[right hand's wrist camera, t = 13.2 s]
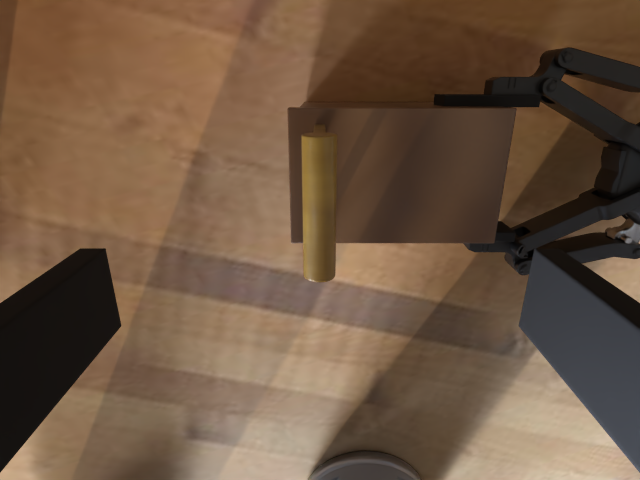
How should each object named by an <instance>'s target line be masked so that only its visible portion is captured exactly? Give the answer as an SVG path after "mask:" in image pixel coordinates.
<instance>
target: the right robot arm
mask: <svg viewBox="0 0 640 480" xmlns="http://www.w3.org/2000/svg"><path fill="white" fill-rule="evenodd" d="M120 327H121V322H120V317H119V312H118V308H117V303H116V298H115V293H114V288H113V283H112V278H111V273H110V268H109V263H108V259H107V254H106V249H79V250H78V251H76V252H75V253H73V254H72V255H70V256H69V257H67V258H66V259H64V260H63V261H62V262H60V263H59V264H57V265H56V266H54V267H53V268H51V269H50V270H48V271H47V272H45V273H44V274H42V275H41V276H39V277H38V278H37V279H35V280H34V281H32V282H31V283H29V284H28V285H26V286H25V287H23V288H22V289H20V290H19V291H17V292H16V293H15V294H13V295H12V296H10V297H9V298H7V299H6V300H4V301H3V302H1V303H0V472H1V471H2V470H3V469H4V467H5V466H6V465H7V464H8V463H9V461H10V460H11V459H12V458H13V456H14V455H15V454H16V453H17V452H18V450H19V449H20V448H21V447H22V446H23V444H24V443H25V442H26V441H27V440H28V438H29V437H30V436H31V435H32V433H33V432H34V431H35V430H36V429H37V427H38V426H39V425H40V424H41V423H42V421H43V420H44V419H45V418H46V416H47V415H48V414H49V413H50V412H51V410H52V409H53V408H54V407H55V406H56V404H57V403H58V402H59V401H60V400H61V398H62V397H63V396H64V395H65V393H66V392H67V391H68V390H69V389H70V387H71V386H72V385H73V384H74V383H75V381H76V380H77V379H78V378H79V377H80V375H81V374H82V373H83V372H84V370H85V369H86V368H87V367H88V366H89V364H90V363H91V362H92V361H93V360H94V358H95V357H96V356H97V355H98V354H99V352H100V351H101V350H102V349H103V347H104V346H105V345H106V344H107V343H108V341H109V340H110V339H111V338H112V337H113V335H114V334H115V333H116V332H117V331H118V329H119V328H120ZM519 327H520V328H521V329H522V331H523V332H524V333H525V334H526V335H527V337H528V338H529V339H530V340H531V341H532V343H533V344H534V345H535V346H536V347H537V349H538V350H539V351H540V352H541V354H542V355H543V356H544V357H545V358H546V360H547V361H548V362H549V363H550V364H551V366H552V367H553V368H554V369H555V370H556V372H557V373H558V374H559V375H560V377H561V378H562V379H563V380H564V381H565V383H566V384H567V385H568V386H569V387H570V389H571V390H572V391H573V392H574V393H575V395H576V396H577V397H578V398H579V400H580V401H581V402H582V403H583V404H584V406H585V407H586V408H587V409H588V410H589V412H590V413H591V414H592V415H593V416H594V418H595V419H596V420H597V421H598V423H599V424H600V425H601V426H602V427H603V429H604V430H605V431H606V432H607V433H608V435H609V436H610V437H611V438H612V440H613V441H614V442H615V443H616V444H617V446H618V447H619V448H620V449H621V450H622V452H623V453H624V454H625V455H626V456H627V458H628V459H629V460H630V461H631V463H632V464H633V465H634V466H635V467H636V469H637V470H638V471H639V472H640V303H639V302H637V301H636V300H634V299H633V298H631V297H630V296H628V295H627V294H625V293H624V292H623V291H621V290H620V289H618V288H617V287H615V286H614V285H612V284H611V283H609V282H608V281H606V280H605V279H603V278H602V277H600V276H599V275H598V274H596V273H595V272H593V271H592V270H590V269H589V268H587V267H586V266H584V265H583V264H581V263H580V262H578V261H577V260H576V259H574V258H573V257H571V256H570V255H568V254H567V253H565V252H564V251H562V250H561V249H534V254H533V259H532V263H531V268H530V273H529V278H528V283H527V288H526V293H525V298H524V303H523V308H522V312H521V317H520V322H519Z"/></svg>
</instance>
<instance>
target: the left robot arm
mask: <svg viewBox="0 0 640 480" xmlns="http://www.w3.org/2000/svg"><path fill="white" fill-rule="evenodd" d="M564 74H566V75H570V76H573V77H577V78H581V79H584V80H588V81H591V82H595V83H599V84H602V85H606V86H610V87H613V88H617V89H620V90H624V91H629V92H640V67H638V66H634V65H631V64H627V63H624V62H620V61H617V60H613V59H610V58H606V57H602V56H599V55H595V54H592V53H588V52H585V51H581V50H578V49H574V48H562V49H556V50H549V51H546V52H544V53H543V54H542V56H541V57H540V66H539V68H538V70H537V71H536V73H535V74H534V75H532V76H530V77H493V78H490V79H488V80H486V82H485V89H484V94H435V95H434V105H439V106H502V107H539V105H540V101H541V102H542V103H544V104H546V105H547V106H549V107H551V108H552V109H554V110H556V111H557V112H559V113H561V114H562V115H564V116H565V117H567V118H569V119H570V120H572V121H574V122H575V123H577V124H579V125H580V126H582V127H584V128H585V129H587V130H589V131H590V132H592V133H593V134H594V136H596V137H597V138H599V139H601V140H602V141H604V142H605V143H607V144H609V145H608V147H604V148H603V152H602V156H601V169H600V171H599V173H598V175H597V177H596V180H595V184H594V187H595V188H592V189H590V190H588V191H586V192H584V193H582V194H580V195H579V198H577V199H575V200H573V201H571V202H568V203H566V204H564V205H562V206H559V207H557V208H555V209H553V210H551V211H548V212H546V213H544V214H542V215H539V216H537V217H535V218H533V219H530V220H528V221H526V222H524V223H521V224H519V225H517V226H515V227H512V228H509V227H508V226H507V225H505V224H504V223H503V222H501V221H498V223H497V229H496V235H495V242H494V243H463V244H464V245H465V246H466V247H467V248H468V249H469V250H471V251H473V252H505V257H504V258H505V261H506V262H507V263H508V264H509V265H510V266H511V267H513V268H514V269H515V270H516V271H517V272H518V273H519V274H521V275H528V274H529V273H530V268H531V263H532V259H533V254H534V249H561V250H562V251H564V252H565V253H567V254H568V255H570V256H571V257H573V258H574V259H576V260H577V261H578V262H580V263H586V262H591V261H596V260H600V259H605V258H610V257H621V258H630V259H638V258H640V244H639V240H640V122H639V123H638V124H636V125H635V124H632V123H629V122H627V121H625V120H624V119H622V118H620V117H619V116H617V115H616V114H614V113H612V112H611V111H609V110H608V109H606V108H604V107H603V106H601V105H600V104H598V103H596V102H595V101H593V100H592V99H590V98H588V97H587V96H585V95H584V94H582V93H580V92H579V91H577V90H576V89H574V88H572V87H571V86H569V85H567V84H566V83H564V82H563V81H561V79H562V77H563V75H564ZM621 215H622V216H623V217H624V218H625V219H626V221H625V222H624V224H622V225H621V226H618V227H613V228H610V227H609V228H607V229H606V230H605V233H602V232H598V233H589V234H584V235H580V236H575V237H570V238H566V239H561V240H556V239H559V238H561V237H563V236H565V235H568V234H570V233H572V232H575V231H577V230H579V229H582V228H584V227H586V226H589V225H591V224H593V223H595V222H598V221H600V220H610V219H614V218H616V217H618V216H621ZM554 240H556V241H554ZM308 480H421V479H420V477H419V475H418V474H417V472H416V471H415V470H414V469H413V468H412V467H411V466H410V465H409V464H407V463H406V462H404V461H403V460H401V459H399V458H397V457H394V456H392V455H389V454H385V453H380V452H371V451H361V452H352V453H347V454H343V455H340V456H337V457H335V458H333V459H330V460H329V461H327V462H325V463H324V464H322V465H321V466H320V467H318V468H317V469H316V470H315V471H314V472H313V473H312V475H311V476H310V478H309V479H308Z"/></svg>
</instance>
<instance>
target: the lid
mask: <svg viewBox="0 0 640 480" xmlns="http://www.w3.org/2000/svg"><path fill="white" fill-rule="evenodd" d="M515 115H516V108H511V107H289V108H288V141H289V178H290V215H291V243H303V264H304V277H305V278H306V279H307V280H309V281H313V282H326V281H330V280H332V279H333V278H334V277H335V261H336V243H494V242H495V235H496V229H497V223H498V217H499V211H500V205H501V199H502V193H503V187H504V181H505V175H506V169H507V163H508V157H509V151H510V145H511V139H512V133H513V127H514V121H515Z"/></svg>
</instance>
